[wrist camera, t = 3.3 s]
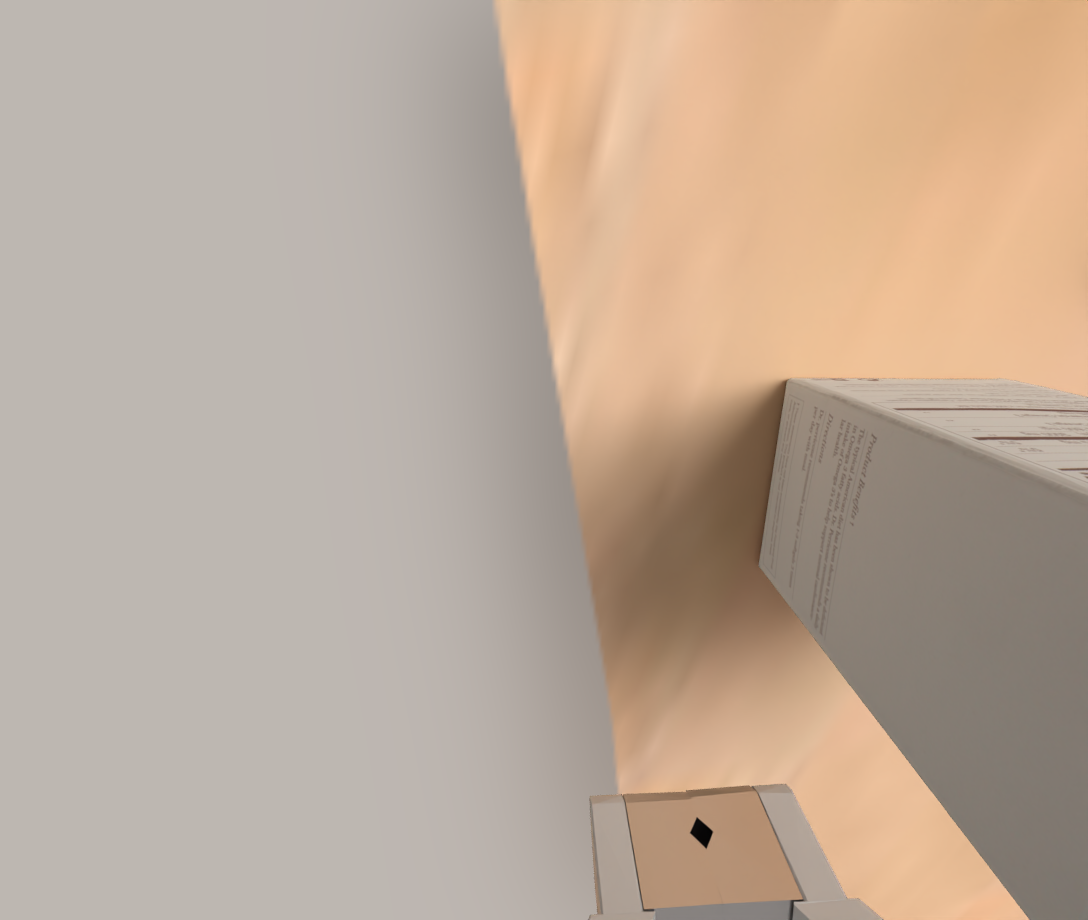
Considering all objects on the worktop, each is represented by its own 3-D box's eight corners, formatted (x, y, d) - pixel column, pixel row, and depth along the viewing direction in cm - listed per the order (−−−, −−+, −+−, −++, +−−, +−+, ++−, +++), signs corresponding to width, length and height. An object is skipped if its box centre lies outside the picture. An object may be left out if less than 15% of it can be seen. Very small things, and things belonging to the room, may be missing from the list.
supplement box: (947, 569, 20) (1527, 989, 8) (751, 566, 20) (1057, 989, 8) (1006, 372, 18) (1936, 571, 6) (784, 367, 18) (1283, 563, 6)
